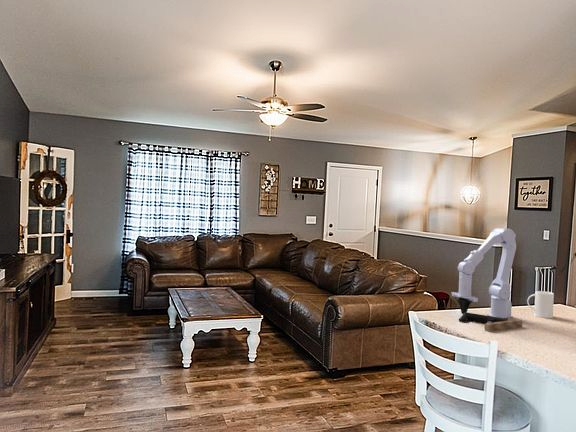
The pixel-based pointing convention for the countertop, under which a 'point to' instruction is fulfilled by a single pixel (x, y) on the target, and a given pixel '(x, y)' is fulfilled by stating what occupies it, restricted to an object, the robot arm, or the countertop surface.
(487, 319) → the door handle
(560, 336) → the countertop surface
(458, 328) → the countertop surface
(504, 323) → the bar
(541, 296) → the mug
